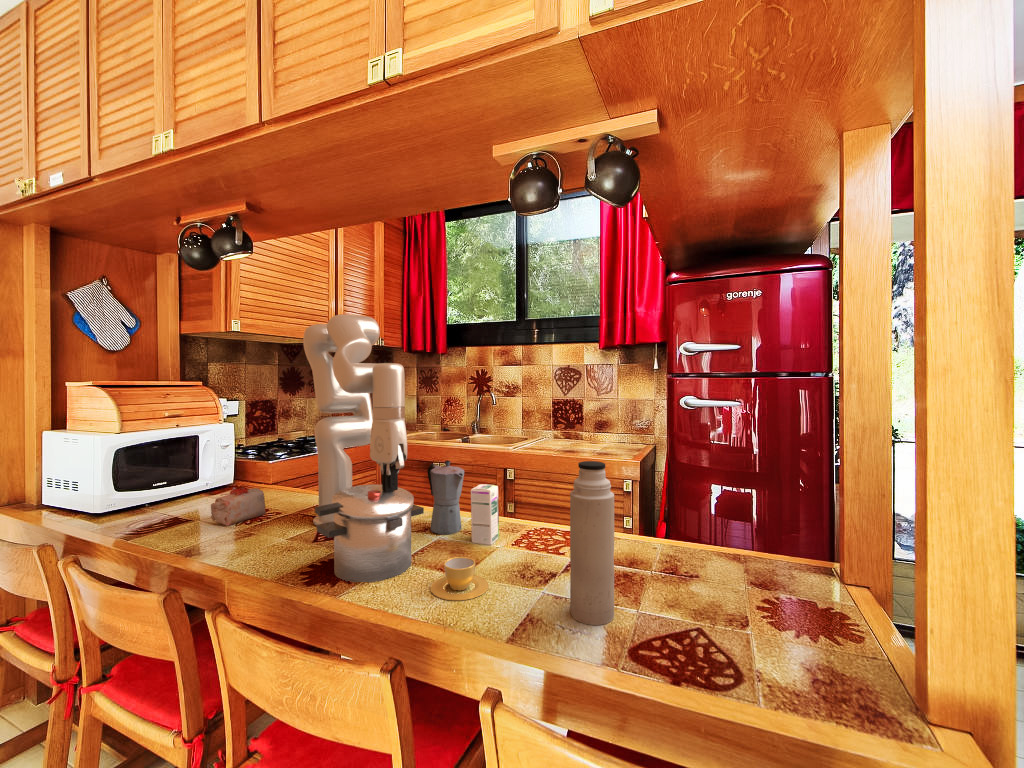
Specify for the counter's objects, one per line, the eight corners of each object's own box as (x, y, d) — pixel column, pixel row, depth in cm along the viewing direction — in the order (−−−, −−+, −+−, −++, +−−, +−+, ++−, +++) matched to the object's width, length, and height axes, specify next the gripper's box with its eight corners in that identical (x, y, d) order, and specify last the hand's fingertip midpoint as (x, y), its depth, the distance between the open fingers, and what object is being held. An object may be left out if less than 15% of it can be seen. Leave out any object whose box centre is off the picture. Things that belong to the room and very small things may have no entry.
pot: (306, 571, 104) (306, 513, 103) (398, 543, 121) (397, 494, 120) (344, 598, 91) (344, 532, 91) (440, 563, 108) (440, 507, 108)
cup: (492, 599, 91) (492, 572, 91) (430, 604, 89) (430, 577, 89) (485, 573, 103) (485, 549, 103) (430, 578, 101) (430, 553, 101)
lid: (428, 509, 106) (429, 496, 106) (336, 532, 90) (337, 518, 90) (387, 486, 119) (388, 474, 118) (300, 503, 103) (300, 490, 102)
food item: (226, 528, 133) (226, 494, 133) (208, 525, 136) (207, 491, 136) (268, 515, 146) (267, 484, 146) (250, 512, 149) (250, 482, 149)
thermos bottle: (601, 600, 90) (601, 457, 89) (622, 621, 82) (622, 465, 82) (563, 606, 88) (563, 459, 87) (581, 628, 80) (581, 467, 79)
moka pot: (452, 540, 123) (451, 465, 123) (413, 528, 132) (413, 459, 132) (475, 530, 131) (475, 460, 130) (437, 520, 140) (437, 454, 140)
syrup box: (491, 545, 119) (491, 489, 119) (470, 543, 121) (470, 488, 121) (499, 538, 124) (499, 484, 124) (479, 535, 126) (478, 483, 126)
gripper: (359, 414, 114) (360, 488, 114) (392, 416, 103) (393, 498, 103) (386, 412, 119) (387, 483, 119) (420, 414, 108) (421, 492, 109)
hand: (390, 490), depth 111 cm, fingers closed
